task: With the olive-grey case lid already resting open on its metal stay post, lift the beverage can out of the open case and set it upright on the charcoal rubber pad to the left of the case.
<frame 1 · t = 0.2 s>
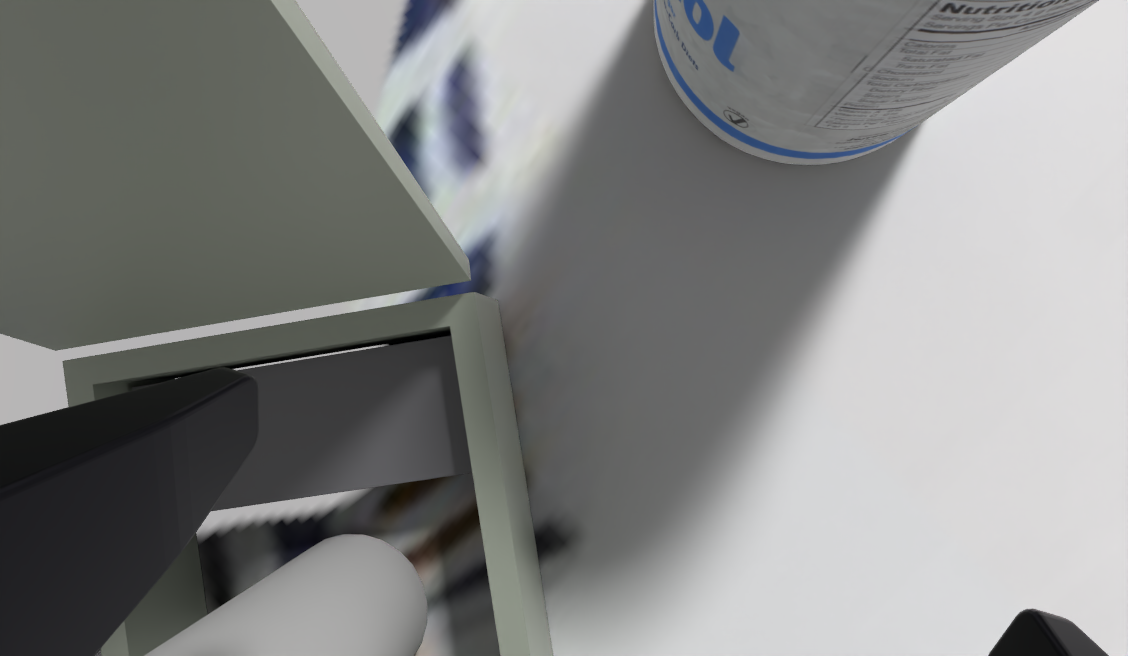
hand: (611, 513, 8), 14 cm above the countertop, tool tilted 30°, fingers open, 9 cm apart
lid: (7, 160, 12), point 12 cm above the countertop, hinge at 105.0°
case: (355, 572, 23), on the countertop
supplement tub: (803, 28, 23), on the countertop
beverage can: (362, 601, 23), resting in case
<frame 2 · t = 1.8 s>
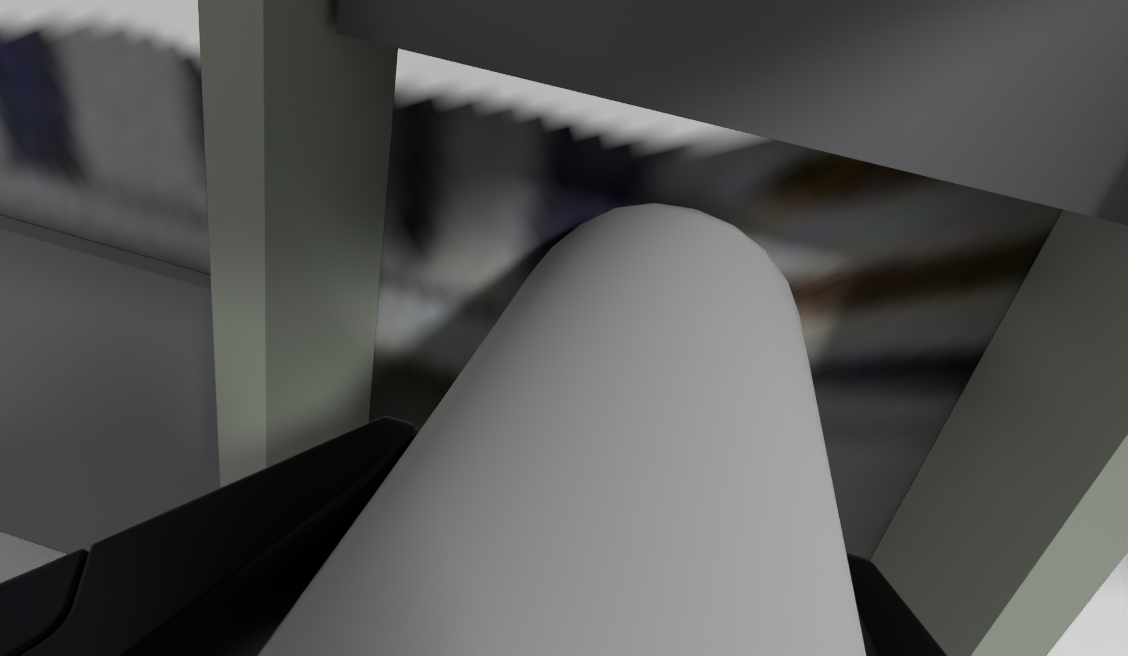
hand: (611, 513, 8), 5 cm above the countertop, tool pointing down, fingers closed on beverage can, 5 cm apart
case: (670, 276, 12), on the countertop
beverage can: (657, 321, 13), resting in case, touching gripper
pad: (91, 412, 17), on the countertop
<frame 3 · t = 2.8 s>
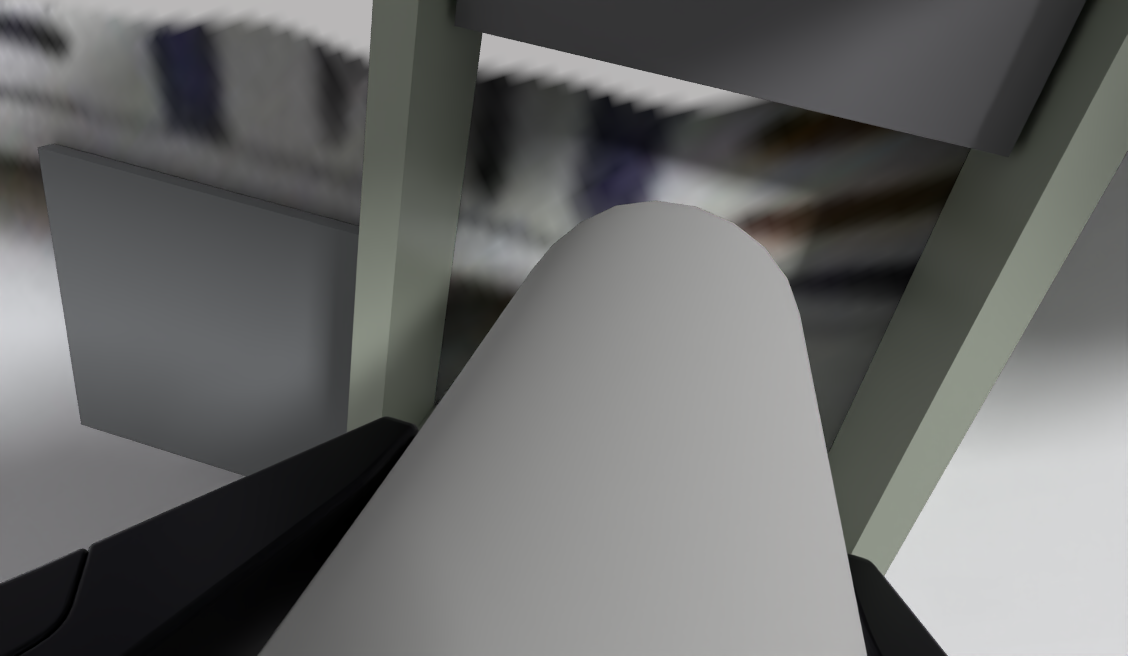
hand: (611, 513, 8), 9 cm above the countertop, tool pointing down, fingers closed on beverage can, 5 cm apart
case: (683, 210, 16), on the countertop
beverage can: (657, 319, 13), point 4 cm above the countertop, touching gripper
pad: (213, 334, 21), on the countertop
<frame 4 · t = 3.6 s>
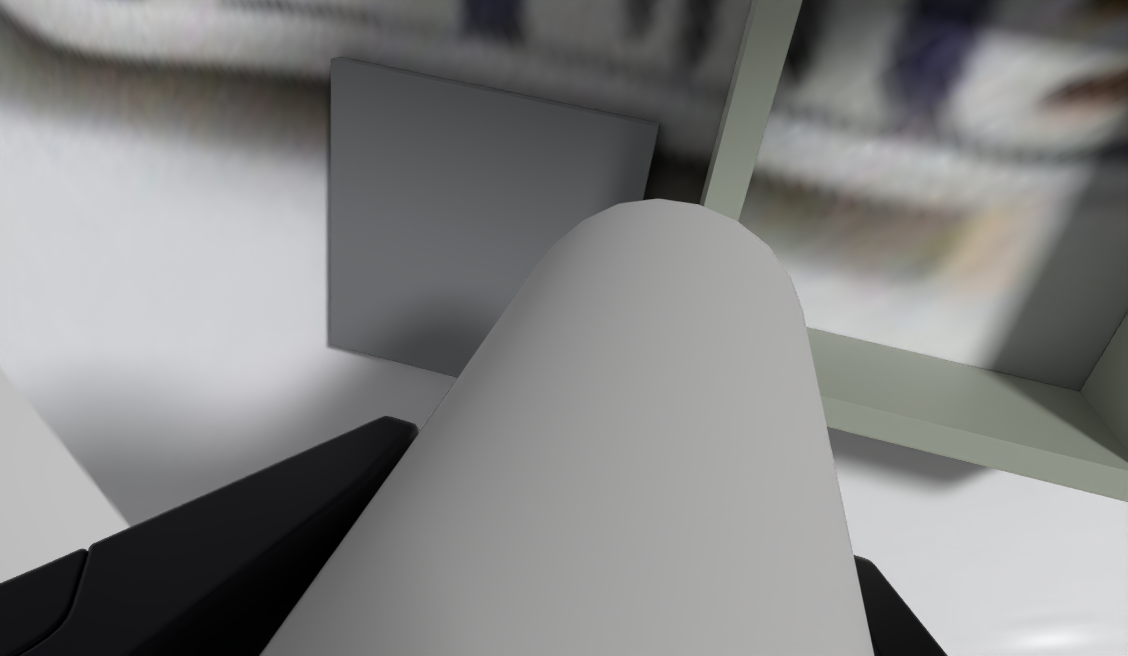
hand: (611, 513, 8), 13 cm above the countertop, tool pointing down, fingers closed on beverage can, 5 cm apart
case: (1000, 81, 16), on the countertop
beverage can: (659, 317, 13), point 7 cm above the countertop, touching gripper
pad: (479, 243, 21), on the countertop
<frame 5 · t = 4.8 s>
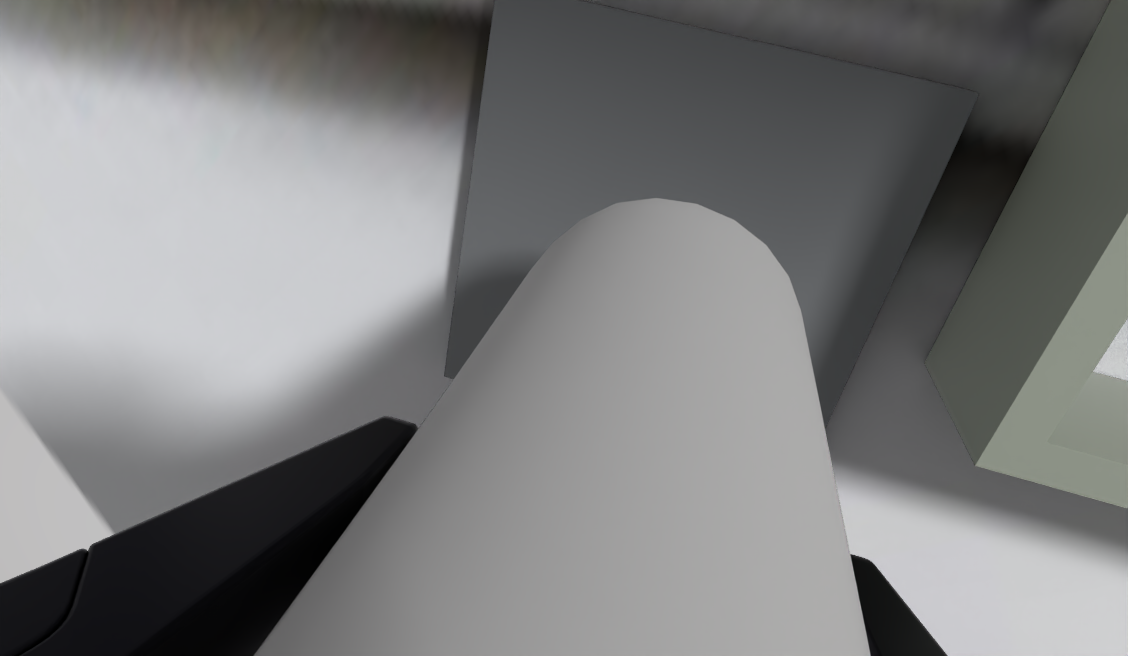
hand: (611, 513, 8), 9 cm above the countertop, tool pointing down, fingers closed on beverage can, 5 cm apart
beverage can: (658, 317, 13), point 3 cm above the countertop, touching gripper
pad: (668, 250, 16), on the countertop
when the fingers open (7 cm above the countertop, at t = 5.5 s): beverage can drops 1 cm, resting on pad.
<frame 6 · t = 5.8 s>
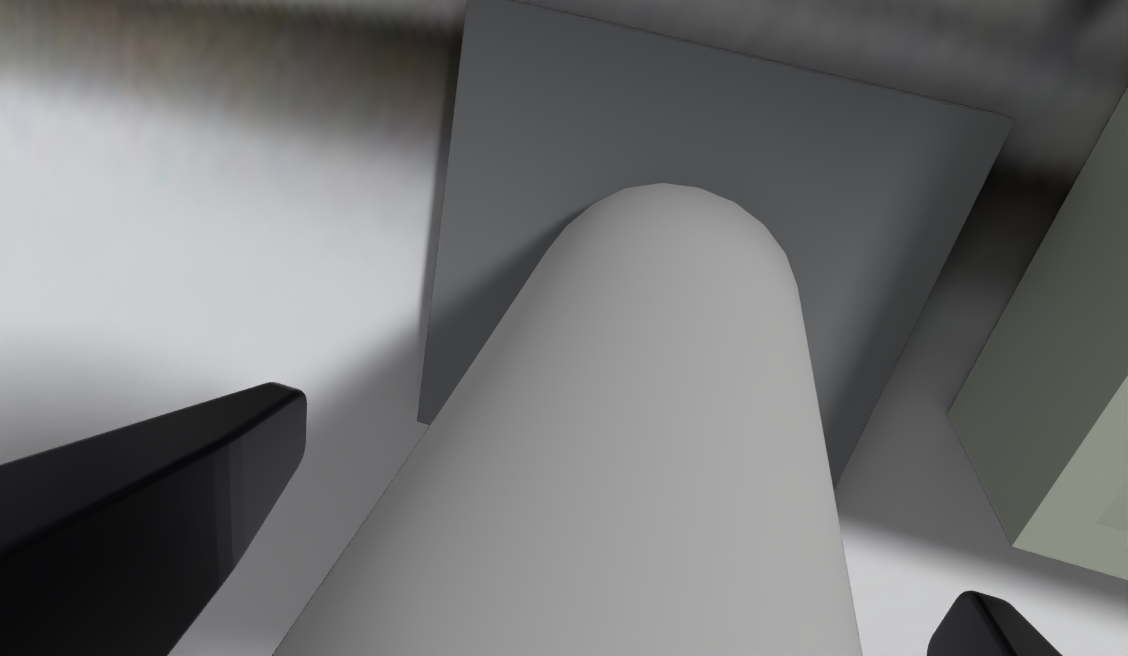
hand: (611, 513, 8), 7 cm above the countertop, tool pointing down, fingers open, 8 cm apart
beverage can: (665, 294, 14), resting on pad
pad: (662, 288, 14), on the countertop
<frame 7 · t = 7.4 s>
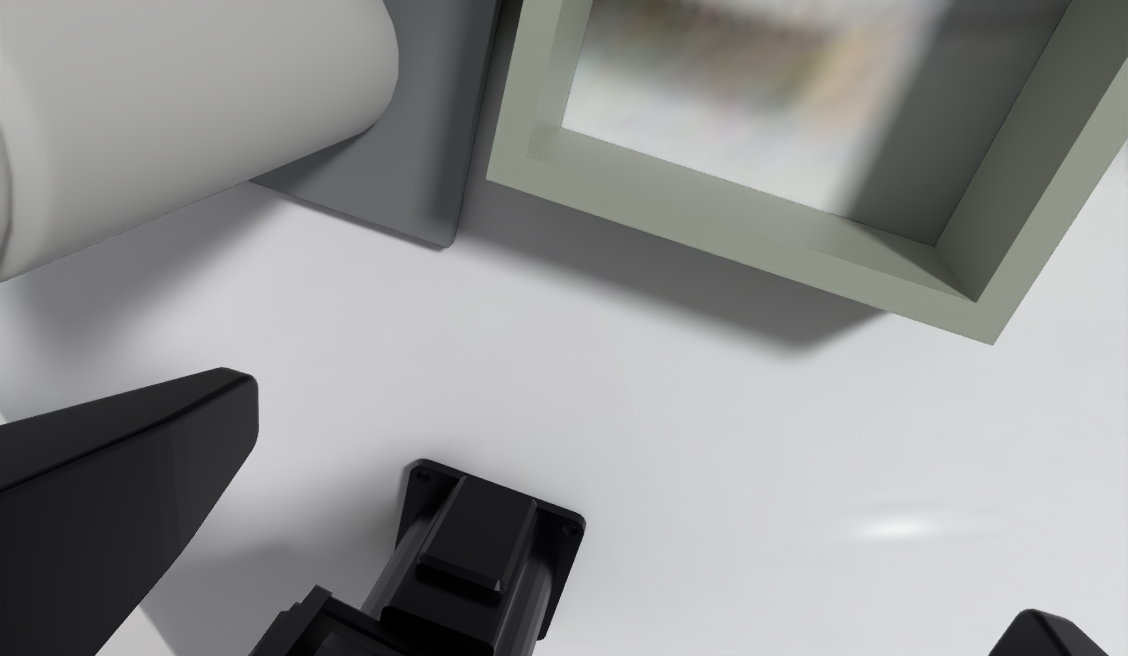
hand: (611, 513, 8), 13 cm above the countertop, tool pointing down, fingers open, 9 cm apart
beverage can: (328, 45, 19), resting on pad
pad: (331, 46, 20), on the countertop
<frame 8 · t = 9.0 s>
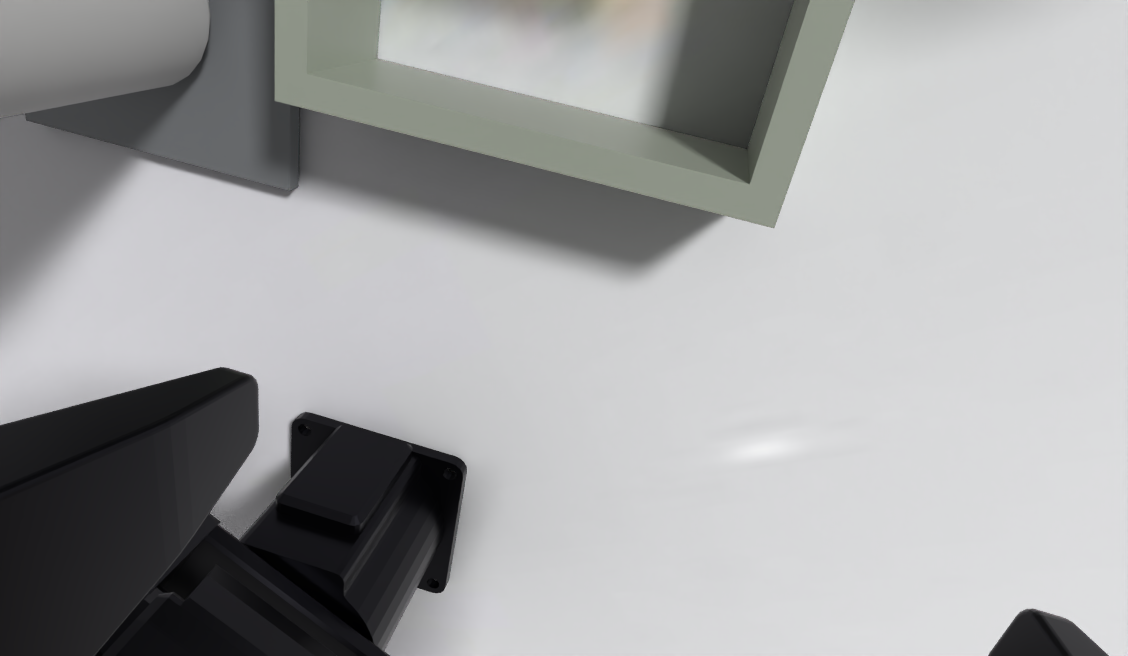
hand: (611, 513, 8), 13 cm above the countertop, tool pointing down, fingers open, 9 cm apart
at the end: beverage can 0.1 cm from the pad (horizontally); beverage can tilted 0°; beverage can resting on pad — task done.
